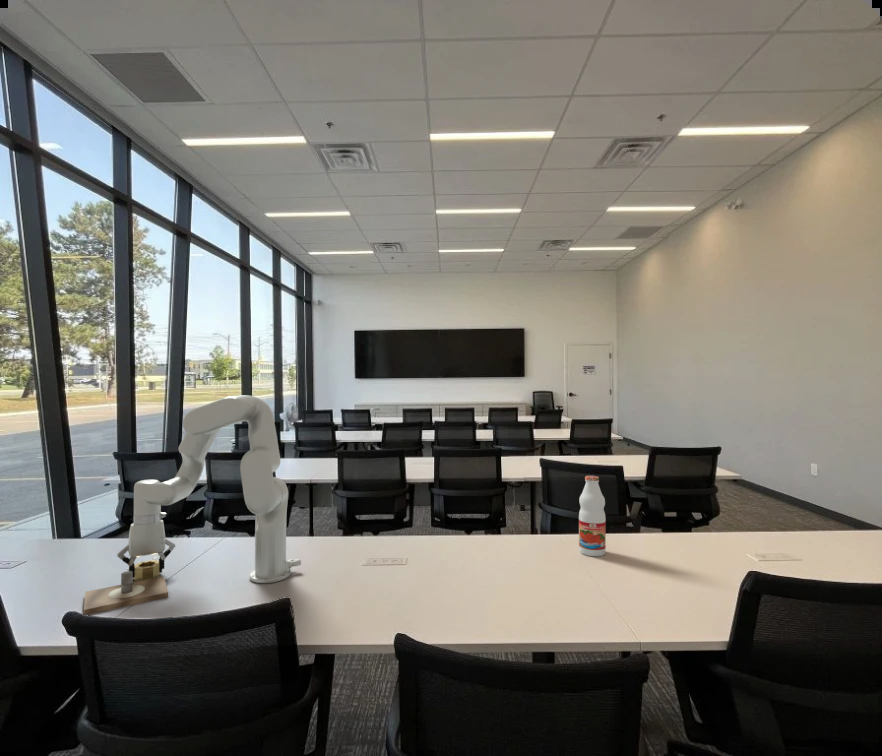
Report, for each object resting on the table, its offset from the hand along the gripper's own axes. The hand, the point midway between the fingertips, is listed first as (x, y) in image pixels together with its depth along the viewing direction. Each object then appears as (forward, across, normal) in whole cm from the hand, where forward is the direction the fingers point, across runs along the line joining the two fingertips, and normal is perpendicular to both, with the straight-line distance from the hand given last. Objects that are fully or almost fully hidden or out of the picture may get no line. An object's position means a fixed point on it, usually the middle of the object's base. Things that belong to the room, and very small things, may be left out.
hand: (146, 573), depth 158 cm
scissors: (+2, -3, -16) cm, 16 cm away
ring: (+1, 0, 0) cm, 1 cm away
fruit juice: (+1, -137, +67) cm, 153 cm away
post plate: (+1, +6, +14) cm, 15 cm away
